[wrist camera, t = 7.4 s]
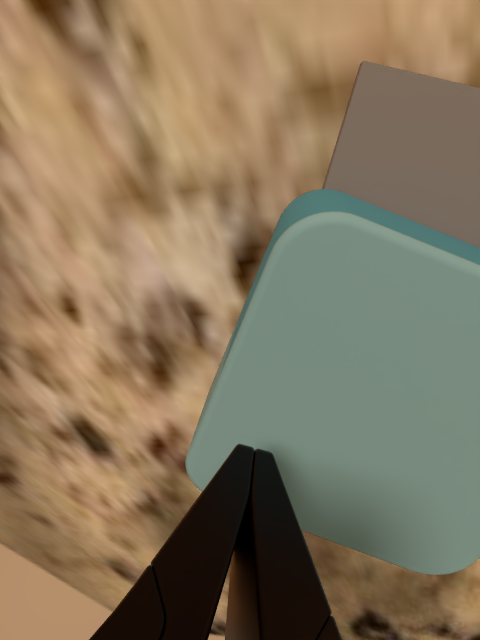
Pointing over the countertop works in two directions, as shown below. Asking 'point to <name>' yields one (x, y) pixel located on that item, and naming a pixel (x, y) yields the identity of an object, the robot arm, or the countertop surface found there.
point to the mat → (412, 149)
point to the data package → (360, 382)
